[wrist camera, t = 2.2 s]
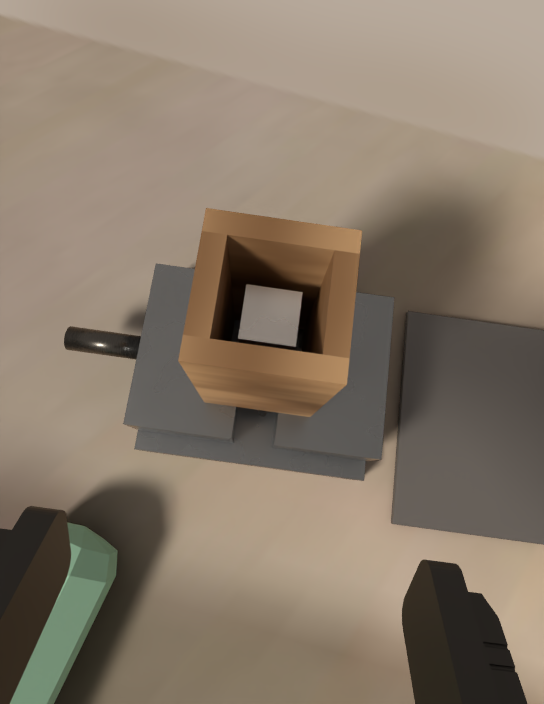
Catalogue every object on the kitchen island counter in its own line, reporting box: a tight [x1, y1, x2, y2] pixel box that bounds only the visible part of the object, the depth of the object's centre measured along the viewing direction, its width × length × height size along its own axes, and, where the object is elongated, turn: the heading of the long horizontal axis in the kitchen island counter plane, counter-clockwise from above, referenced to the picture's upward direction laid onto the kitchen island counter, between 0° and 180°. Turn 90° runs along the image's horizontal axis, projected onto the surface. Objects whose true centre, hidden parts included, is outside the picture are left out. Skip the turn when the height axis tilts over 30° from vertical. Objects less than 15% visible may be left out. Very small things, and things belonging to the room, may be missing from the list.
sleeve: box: [178, 208, 362, 417], centre depth 20 cm, size 5×5×9 cm
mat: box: [391, 311, 544, 545], centre depth 28 cm, size 12×12×1 cm
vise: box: [64, 264, 394, 481], centre depth 23 cm, size 16×10×12 cm, turn 82°
